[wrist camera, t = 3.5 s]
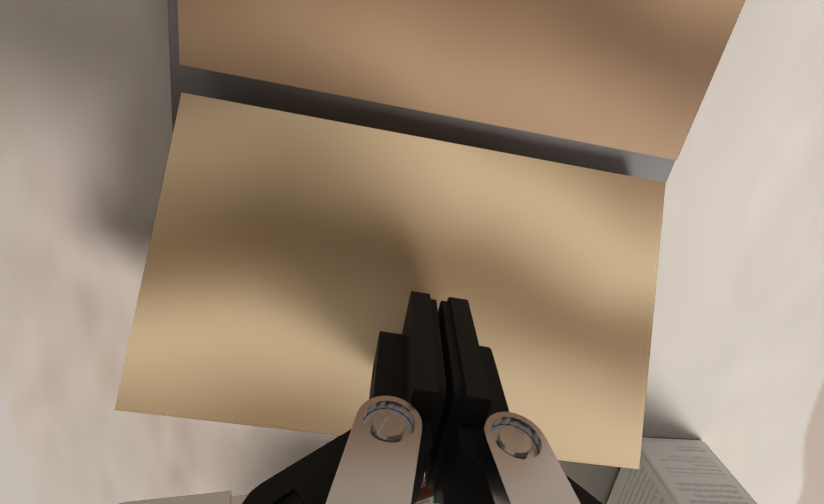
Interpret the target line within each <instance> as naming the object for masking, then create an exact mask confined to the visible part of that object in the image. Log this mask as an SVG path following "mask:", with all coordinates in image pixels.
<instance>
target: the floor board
mask: <svg viewBox="0 0 824 504" xmlns="http://www.w3.org/2000/svg"><path fill="white" fill-rule="evenodd" d="M744 3H745V0H168V18H169V44H170V70H171V97H172V123H173V131H174V126H175V121H176V117H177V112H178V107H179V102H180V98H181V93H187V94H192V95H198V96H203V97H208V98H214V99H219V100H225V101H230V102H235V103H241V104H246V105H251V106H257V107H262V108H267V109H273V110H278V111H284V112H289V113H294V114H300V115H305V116H310V117H316V118H321V119H326V120H332V121H337V122H343V123H348V124H353V125H359V126H364V127H369V128H375V129H380V130H385V131H391V132H396V133H401V134H407V135H412V136H418V137H423V138H428V139H434V140H439V141H444V142H450V143H455V144H460V145H466V146H471V147H477V148H482V149H487V150H493V151H498V152H503V153H509V154H514V155H519V156H525V157H530V158H536V159H541V160H546V161H552V162H557V163H562V164H568V165H573V166H578V167H584V168H589V169H595V170H600V171H605V172H611V173H616V174H621V175H627V176H632V177H637V178H643V179H648V180H653V181H659V182H664V183H666V181H667V179H668V176H669V174H670V172H671V169H672V167H673V165H674V162H675V160H677V158H678V156H679V154H680V151H681V149H682V147H683V144H684V142H685V140H686V137H687V135H688V133H689V130H690V128H691V126H692V123H693V121H694V119H695V116H696V114H697V112H698V110H699V107H700V105H701V103H702V100H703V98H704V96H705V93H706V91H707V89H708V86H709V84H710V82H711V79H712V77H713V75H714V72H715V70H716V68H717V65H718V63H719V61H720V58H721V56H722V54H723V51H724V49H725V47H726V44H727V42H728V40H729V37H730V35H731V33H732V30H733V28H734V26H735V23H736V21H737V19H738V16H739V14H740V12H741V9H742V7H743V5H744Z"/></svg>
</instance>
